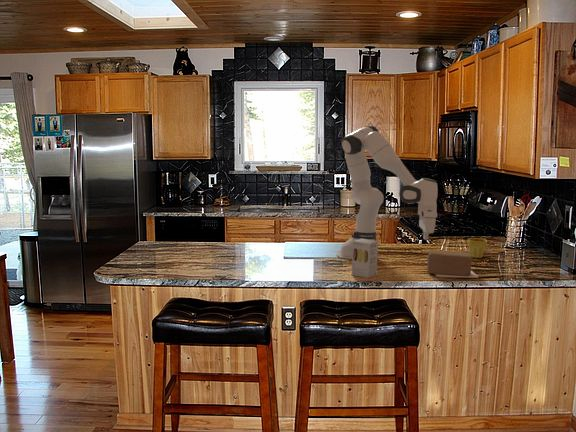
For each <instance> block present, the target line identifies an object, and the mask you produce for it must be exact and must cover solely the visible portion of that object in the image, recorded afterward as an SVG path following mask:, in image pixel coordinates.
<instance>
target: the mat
mask: <svg viewBox="0 0 576 432" xmlns="http://www.w3.org/2000/svg"><path fill="white" fill-rule="evenodd" d="M434 275H435V276H436V277H439V278H440V277H444V278H466V279H467V278H470V279H471V278H472V279H473V278H474V279H478V278H479V276H478V275H477V274H476V273H475V272H474V271H473V270H471V275H470V276H457V275H442V274H434Z"/></svg>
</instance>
